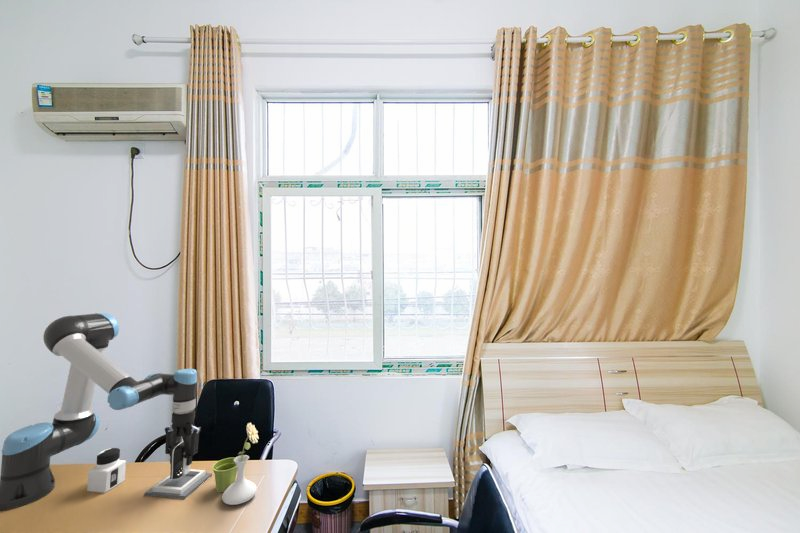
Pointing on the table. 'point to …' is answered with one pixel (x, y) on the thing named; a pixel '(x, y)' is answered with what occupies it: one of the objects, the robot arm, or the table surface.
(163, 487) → the tray
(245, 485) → the flower in vase
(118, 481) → the container
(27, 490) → the robot arm
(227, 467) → the plant pot
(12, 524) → the table surface
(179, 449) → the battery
